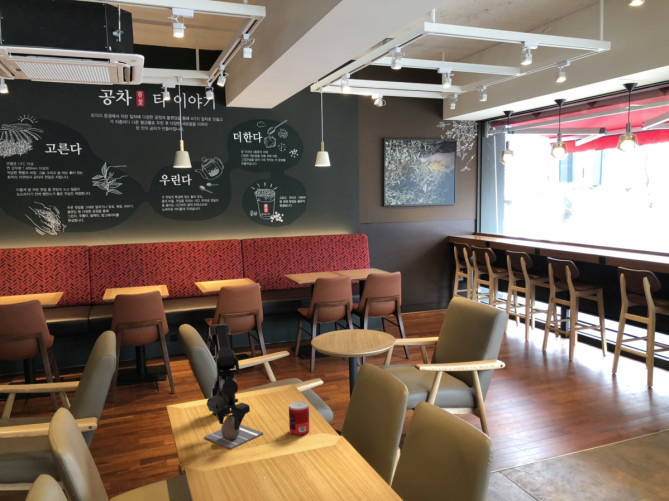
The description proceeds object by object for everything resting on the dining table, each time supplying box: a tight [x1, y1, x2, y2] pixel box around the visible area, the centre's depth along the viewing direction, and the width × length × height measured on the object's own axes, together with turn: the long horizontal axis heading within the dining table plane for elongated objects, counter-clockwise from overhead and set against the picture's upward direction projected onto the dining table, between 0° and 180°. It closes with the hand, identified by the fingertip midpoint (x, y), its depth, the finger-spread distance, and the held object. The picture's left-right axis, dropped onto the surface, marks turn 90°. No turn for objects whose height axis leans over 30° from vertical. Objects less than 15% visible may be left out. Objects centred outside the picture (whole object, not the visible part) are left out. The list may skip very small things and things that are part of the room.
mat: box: [203, 423, 264, 450], centre depth 204 cm, size 16×16×1 cm
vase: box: [220, 414, 240, 440], centre depth 200 cm, size 7×7×9 cm
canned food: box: [288, 400, 310, 437], centre depth 206 cm, size 8×8×11 cm
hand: (229, 426), depth 200 cm, fingers open, 9 cm apart
